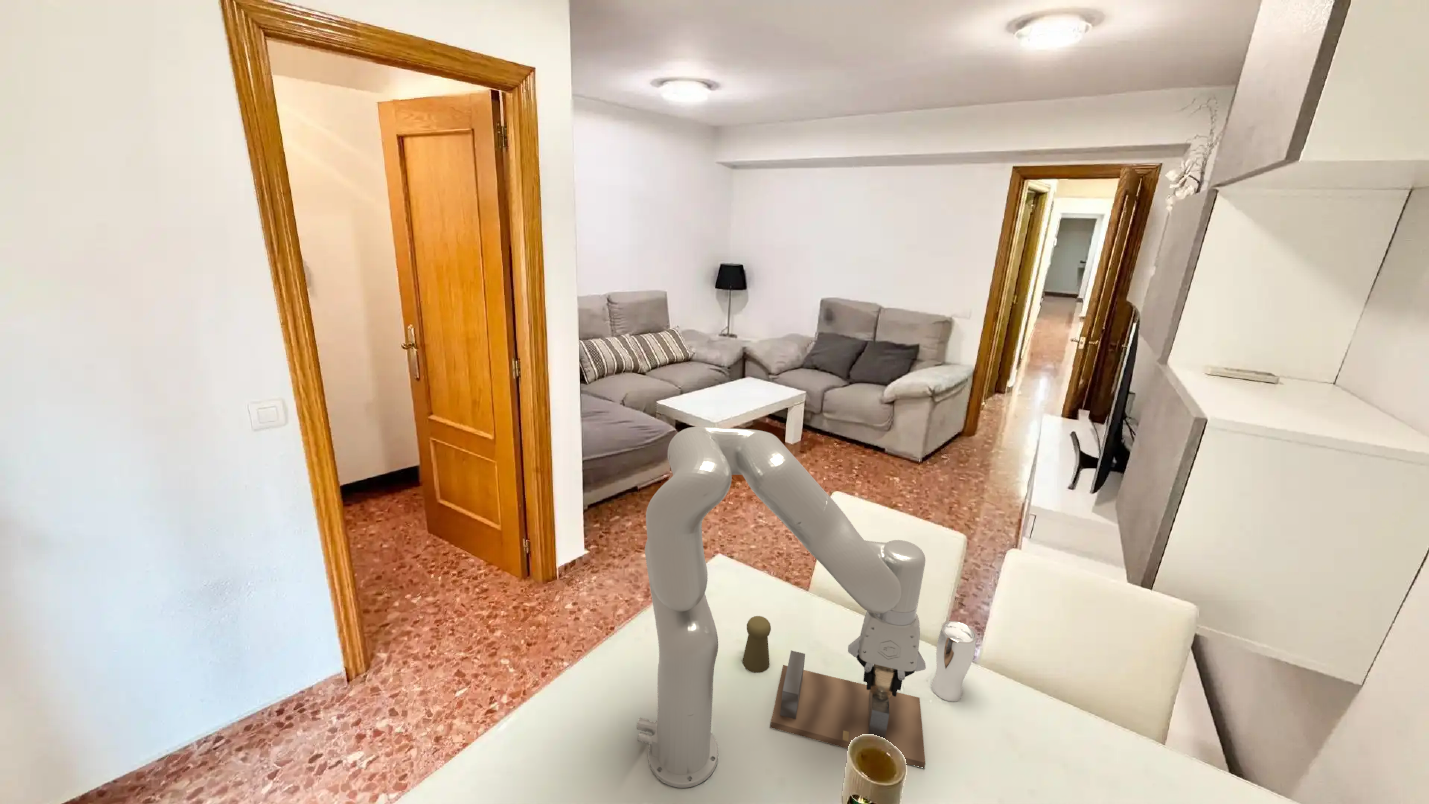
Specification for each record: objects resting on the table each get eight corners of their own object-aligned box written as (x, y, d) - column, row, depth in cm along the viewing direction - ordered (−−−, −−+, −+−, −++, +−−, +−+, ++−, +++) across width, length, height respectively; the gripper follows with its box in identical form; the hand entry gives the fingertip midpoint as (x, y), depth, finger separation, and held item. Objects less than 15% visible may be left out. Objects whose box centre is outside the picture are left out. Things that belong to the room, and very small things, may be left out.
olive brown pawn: (768, 675, 118) (771, 633, 115) (740, 670, 119) (743, 628, 116) (771, 655, 124) (774, 614, 120) (744, 650, 125) (747, 609, 121)
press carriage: (865, 734, 103) (873, 683, 99) (866, 693, 112) (873, 644, 108) (887, 739, 102) (896, 688, 98) (886, 697, 111) (895, 649, 107)
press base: (770, 727, 106) (773, 696, 103) (782, 670, 119) (785, 642, 117) (924, 769, 99) (930, 737, 96) (918, 703, 112) (924, 674, 110)
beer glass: (964, 684, 118) (977, 626, 113) (964, 708, 112) (977, 648, 107) (930, 673, 120) (941, 615, 116) (927, 696, 114) (939, 636, 110)
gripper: (845, 610, 98) (835, 691, 104) (946, 631, 94) (929, 715, 99) (848, 585, 105) (837, 663, 111) (941, 604, 101) (926, 683, 106)
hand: (881, 686), depth 105 cm, fingers closed on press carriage, 4 cm apart
